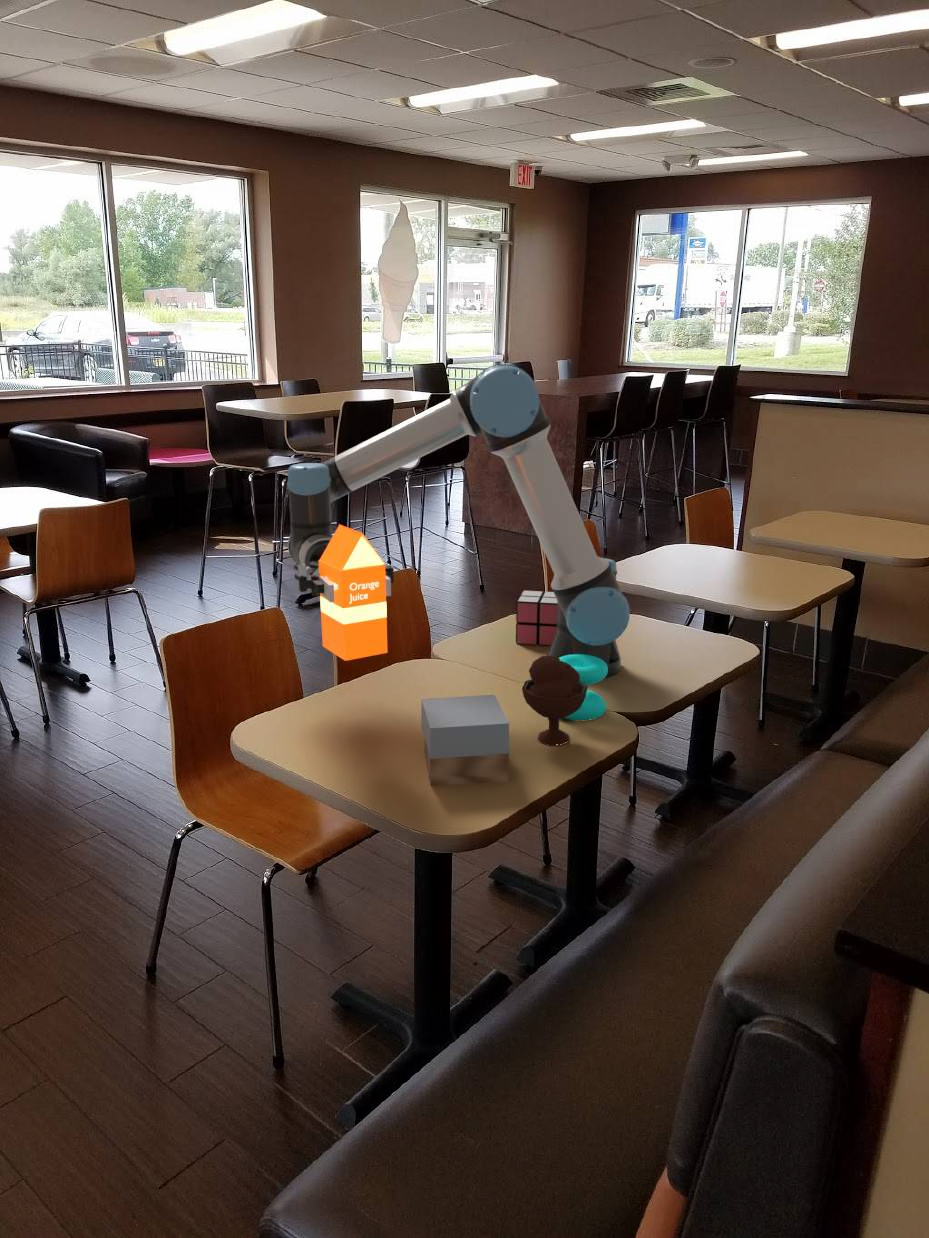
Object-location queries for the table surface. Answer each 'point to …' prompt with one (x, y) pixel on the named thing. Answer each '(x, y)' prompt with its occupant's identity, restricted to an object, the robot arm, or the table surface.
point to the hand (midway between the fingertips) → (360, 590)
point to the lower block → (467, 769)
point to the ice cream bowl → (553, 694)
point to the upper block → (464, 726)
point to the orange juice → (353, 597)
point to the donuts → (589, 674)
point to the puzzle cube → (536, 618)
